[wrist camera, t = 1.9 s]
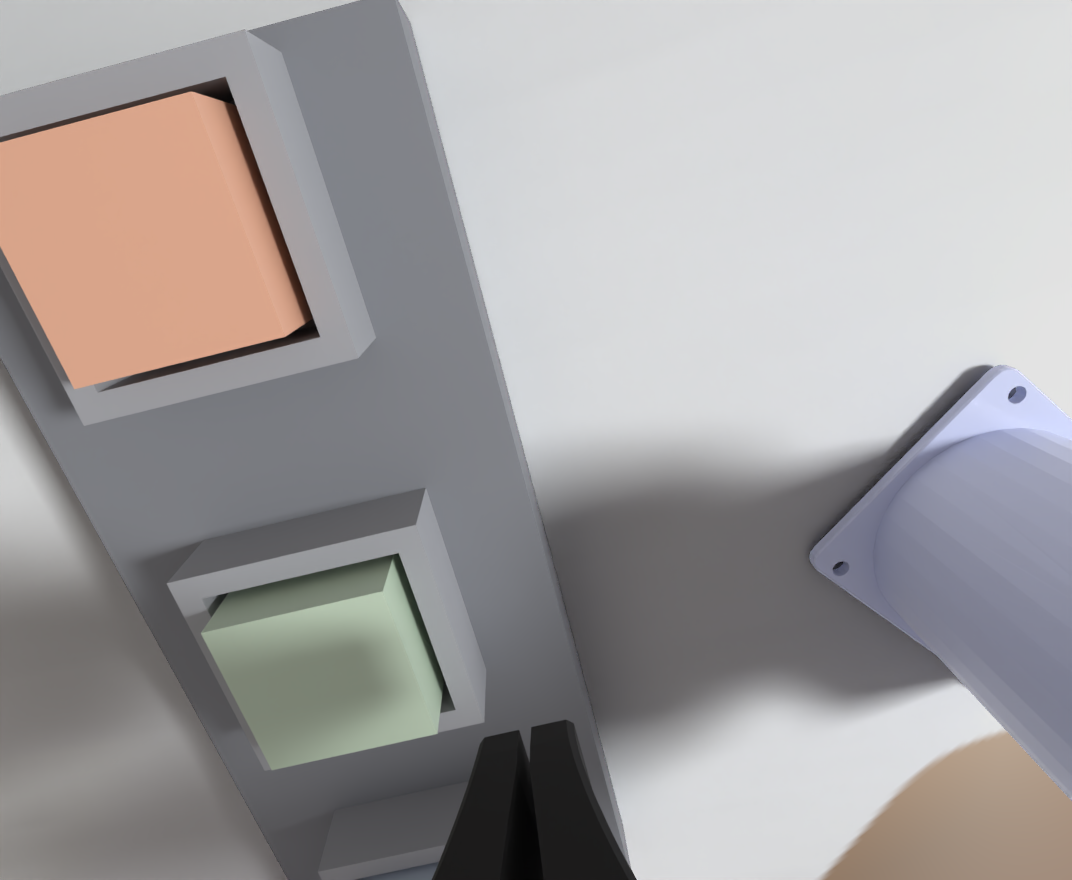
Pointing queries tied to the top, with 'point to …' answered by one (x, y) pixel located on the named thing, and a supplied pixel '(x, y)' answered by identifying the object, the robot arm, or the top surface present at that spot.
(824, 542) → the robot arm
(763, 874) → the top surface
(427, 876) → the slate button
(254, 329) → the terracotta button
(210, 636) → the sage button
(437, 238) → the button panel
